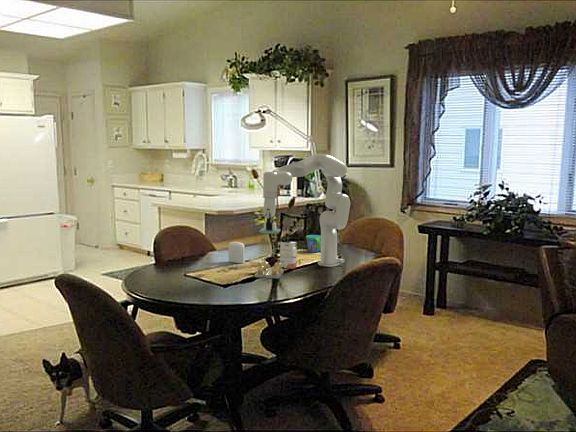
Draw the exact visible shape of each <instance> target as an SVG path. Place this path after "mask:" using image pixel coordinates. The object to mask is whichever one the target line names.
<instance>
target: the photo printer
mask: <svg viewBox="0 0 576 432" xmlns="http://www.w3.org/2000/svg"><path fill="white" fill-rule="evenodd" d="M227 247H228V249H227V250H228V262H229V263H236V264H245V262H246V261H245V260H246V259H245V258H246V255H245V252H246V250H245V248H246V247H245V243H243V242H240V241H231V242H229V243H228V246H227Z"/></svg>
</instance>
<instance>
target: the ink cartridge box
mask: <svg viewBox="0 0 576 432" xmlns="http://www.w3.org/2000/svg"><path fill="white" fill-rule="evenodd" d="M279 245H280V246H279V247H280V248H279V262H281V263H282V267H284V268H283V269H289V268H290V270H294V269H296V268H297V247H295V246H294V244H293V243H291V242H283V241H281V242H280V244H279Z"/></svg>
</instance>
